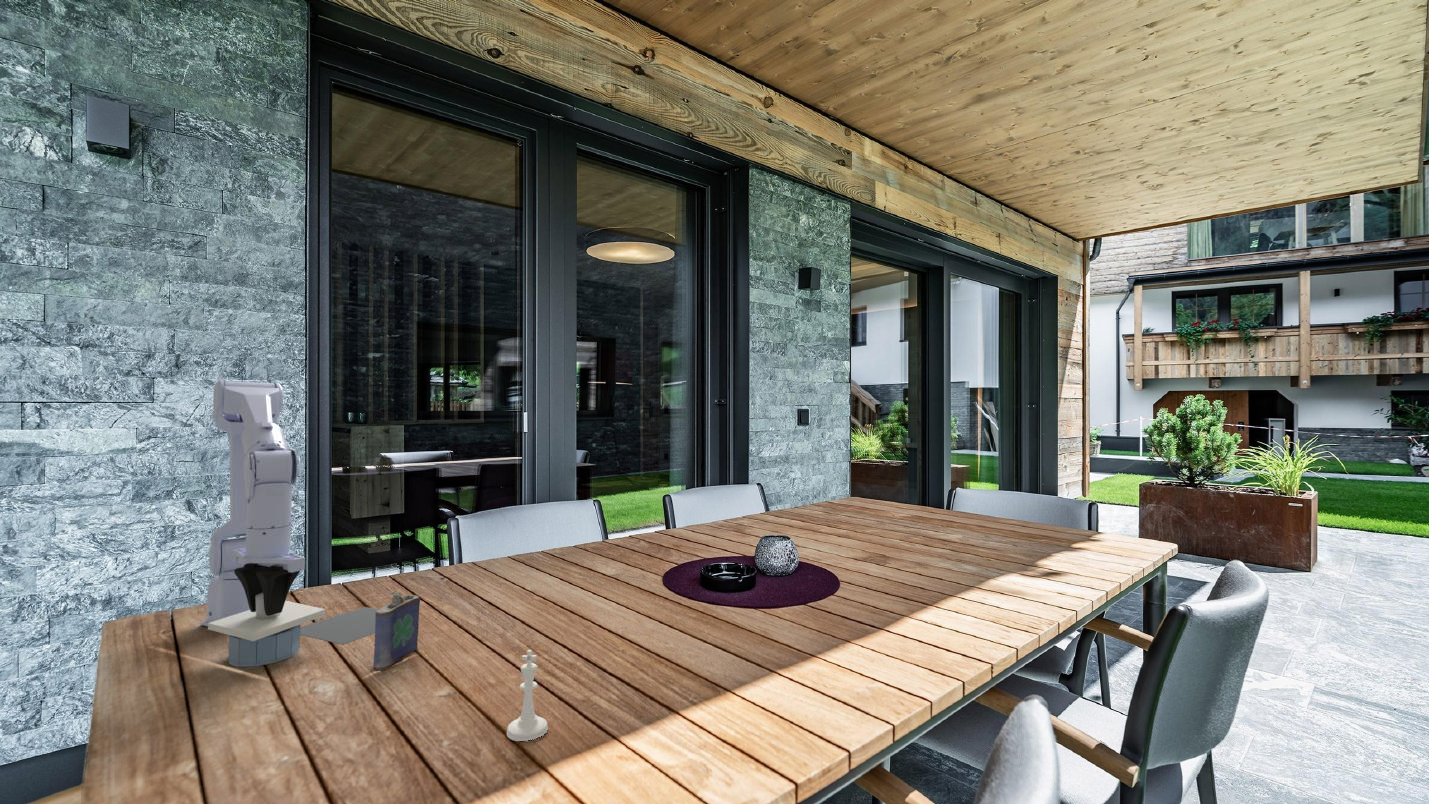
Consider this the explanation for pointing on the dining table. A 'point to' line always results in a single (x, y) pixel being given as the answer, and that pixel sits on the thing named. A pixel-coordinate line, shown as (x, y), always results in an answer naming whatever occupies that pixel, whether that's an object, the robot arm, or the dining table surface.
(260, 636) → the lid
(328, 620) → the mat
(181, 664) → the dining table surface
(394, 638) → the flask
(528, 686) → the chess piece
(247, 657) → the bowl
